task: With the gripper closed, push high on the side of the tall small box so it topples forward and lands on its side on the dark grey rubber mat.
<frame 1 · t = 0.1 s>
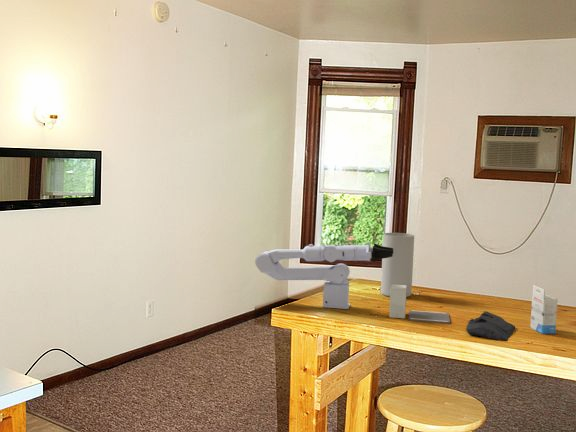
hand: (392, 252, 234), 22 cm above the table, tool horizontal, fingers open, 7 cm apart
crumpled dark cloth: (488, 332, 212), on the table
mat: (428, 317, 228), on the table
small box: (397, 316, 229), on the table
cylinder vase: (395, 295, 265), on the table
ink box: (542, 331, 214), on the table
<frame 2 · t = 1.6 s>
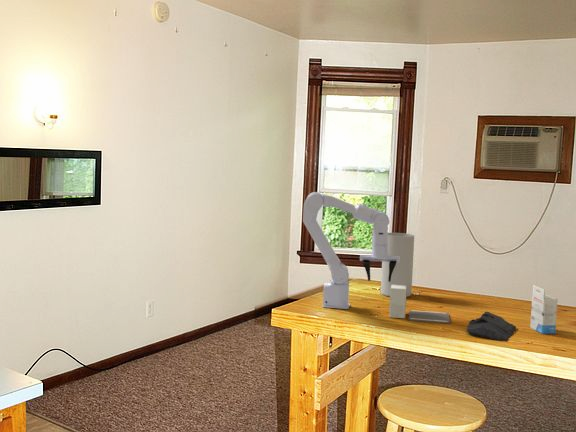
hand: (379, 280, 238), 10 cm above the table, tool pointing down, fingers open, 7 cm apart
nothing on the table moved.
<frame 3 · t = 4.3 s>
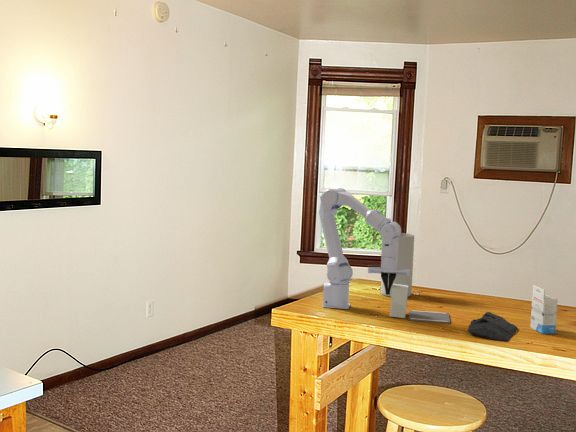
hand: (387, 294, 229), 7 cm above the table, tool pointing down, fingers closed
small box: (397, 315, 229), on the table, touching gripper
everything else where it was.
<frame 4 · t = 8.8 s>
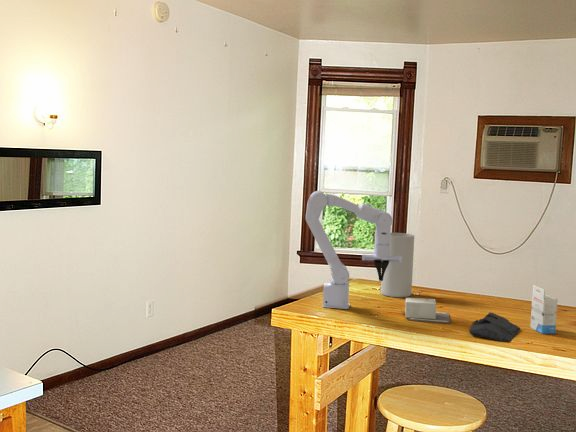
hand: (381, 280, 239), 10 cm above the table, tool pointing down, fingers closed
small box: (404, 307, 228), point 3 cm above the table, touching mat
at the end: small box tilted 90°; small box inside the target area (6.2 cm from its centre), point 3.3 cm above the table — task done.
